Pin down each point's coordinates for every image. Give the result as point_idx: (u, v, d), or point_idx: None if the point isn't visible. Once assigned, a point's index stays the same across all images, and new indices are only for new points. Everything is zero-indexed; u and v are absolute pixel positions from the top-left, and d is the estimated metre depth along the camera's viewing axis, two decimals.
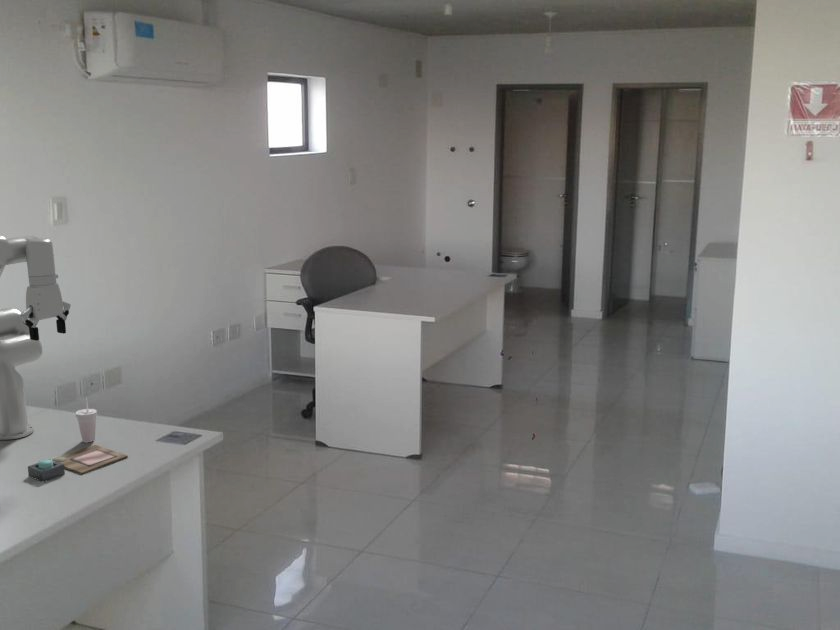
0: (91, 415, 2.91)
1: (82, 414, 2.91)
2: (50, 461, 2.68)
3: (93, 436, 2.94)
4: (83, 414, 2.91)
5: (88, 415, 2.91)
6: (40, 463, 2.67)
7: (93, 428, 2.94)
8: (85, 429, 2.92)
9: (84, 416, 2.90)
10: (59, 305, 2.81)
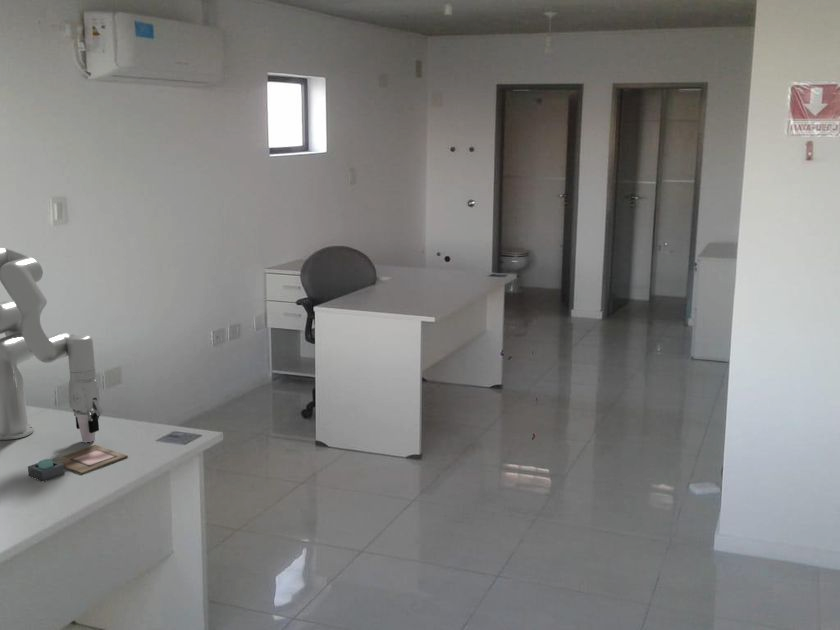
0: None
1: (82, 414, 2.91)
2: (50, 461, 2.68)
3: (93, 436, 2.94)
4: (83, 414, 2.91)
5: None
6: (40, 463, 2.67)
7: None
8: (85, 429, 2.92)
9: (84, 416, 2.90)
10: None
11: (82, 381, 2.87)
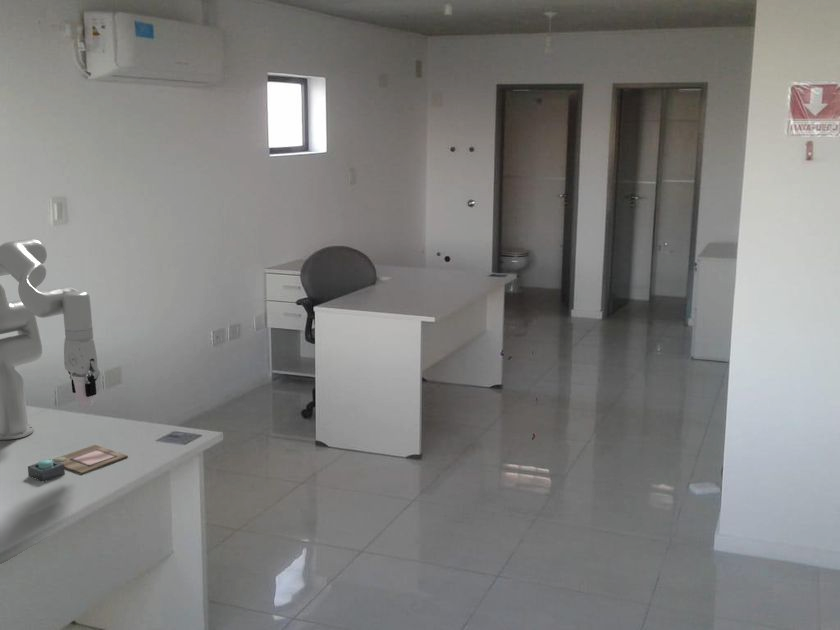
0: None
1: (78, 376, 2.71)
2: (50, 461, 2.68)
3: (90, 401, 2.74)
4: (79, 376, 2.71)
5: None
6: (40, 463, 2.67)
7: None
8: (81, 392, 2.72)
9: (81, 378, 2.70)
10: None
11: (78, 340, 2.67)
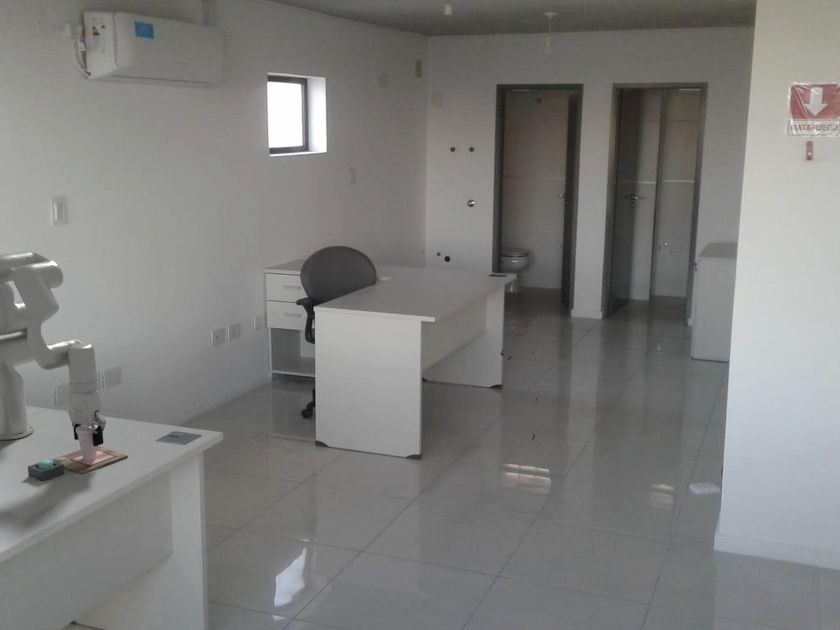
0: (92, 431, 2.75)
1: (82, 430, 2.75)
2: (50, 461, 2.68)
3: (94, 454, 2.78)
4: (84, 430, 2.75)
5: (89, 431, 2.74)
6: (40, 463, 2.67)
7: None
8: (85, 446, 2.76)
9: (85, 432, 2.74)
10: None
11: (83, 393, 2.70)
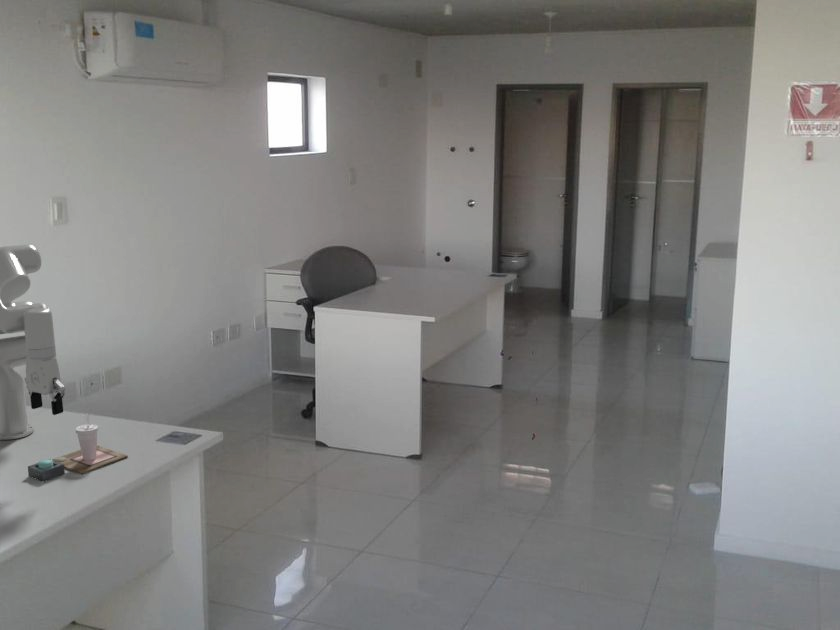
0: (92, 431, 2.75)
1: (82, 430, 2.75)
2: (50, 461, 2.68)
3: (94, 454, 2.78)
4: (83, 430, 2.75)
5: (89, 431, 2.74)
6: (40, 463, 2.67)
7: (94, 445, 2.77)
8: (85, 446, 2.76)
9: (85, 432, 2.74)
10: None
11: (40, 359, 2.59)
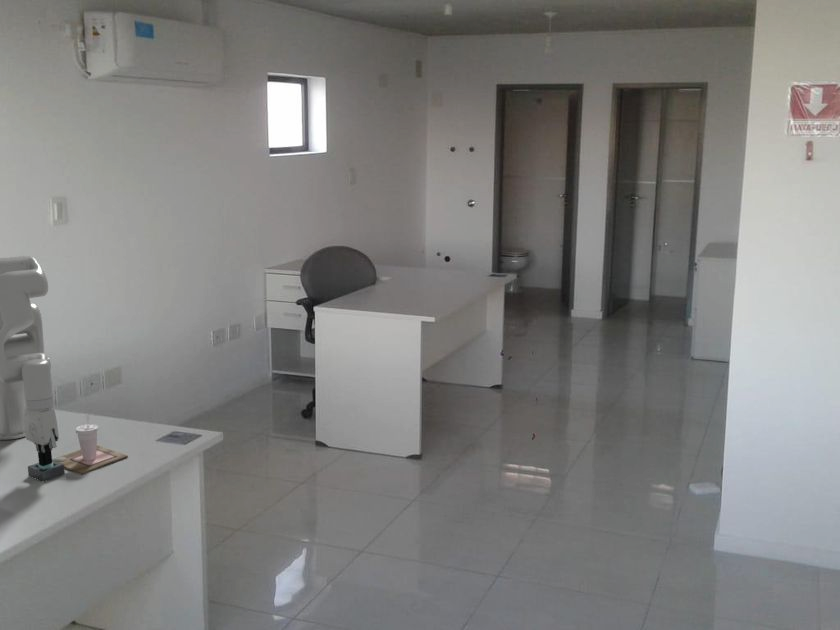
0: (92, 431, 2.75)
1: (82, 430, 2.75)
2: None
3: (94, 454, 2.78)
4: (84, 430, 2.75)
5: (89, 431, 2.74)
6: (40, 465, 2.67)
7: (94, 445, 2.77)
8: (85, 446, 2.76)
9: (85, 432, 2.74)
10: None
11: (38, 410, 2.60)
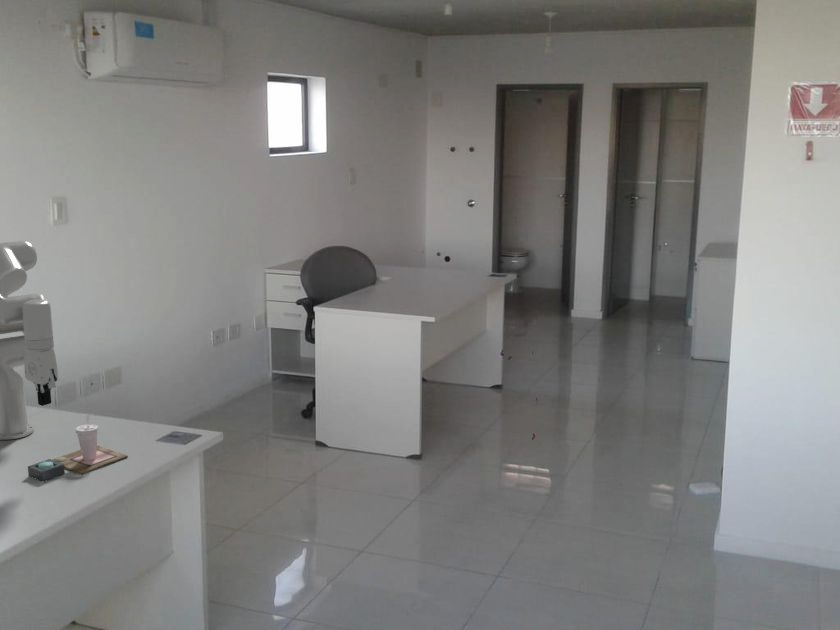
0: (92, 431, 2.75)
1: (82, 430, 2.75)
2: (50, 463, 2.68)
3: (94, 454, 2.78)
4: (84, 430, 2.75)
5: (89, 431, 2.74)
6: (40, 465, 2.67)
7: (94, 445, 2.77)
8: (85, 446, 2.76)
9: (85, 432, 2.74)
10: None
11: (38, 350, 2.62)
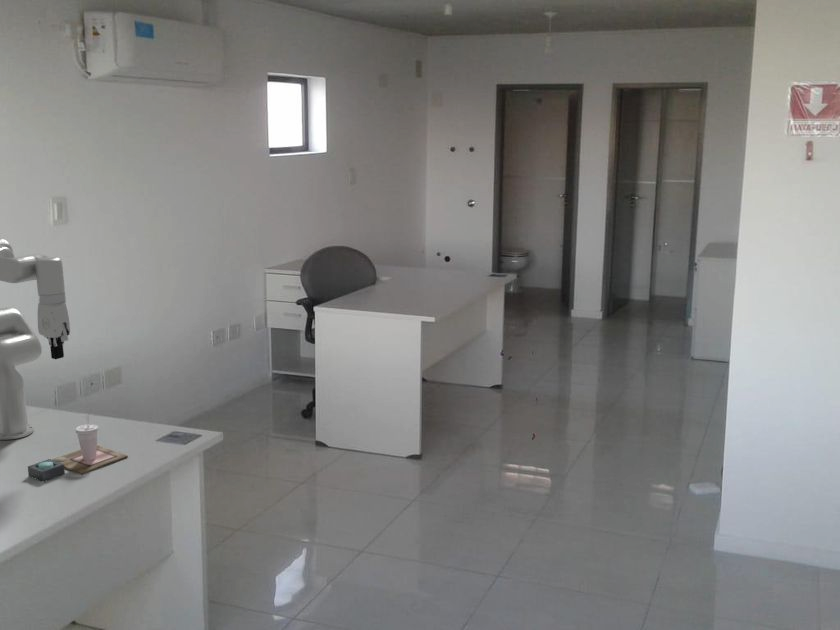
0: (92, 431, 2.75)
1: (82, 430, 2.75)
2: (50, 463, 2.68)
3: (94, 454, 2.78)
4: (84, 430, 2.75)
5: (89, 431, 2.74)
6: (40, 465, 2.67)
7: (94, 445, 2.77)
8: (85, 446, 2.76)
9: (85, 432, 2.74)
10: None
11: (51, 304, 2.75)
